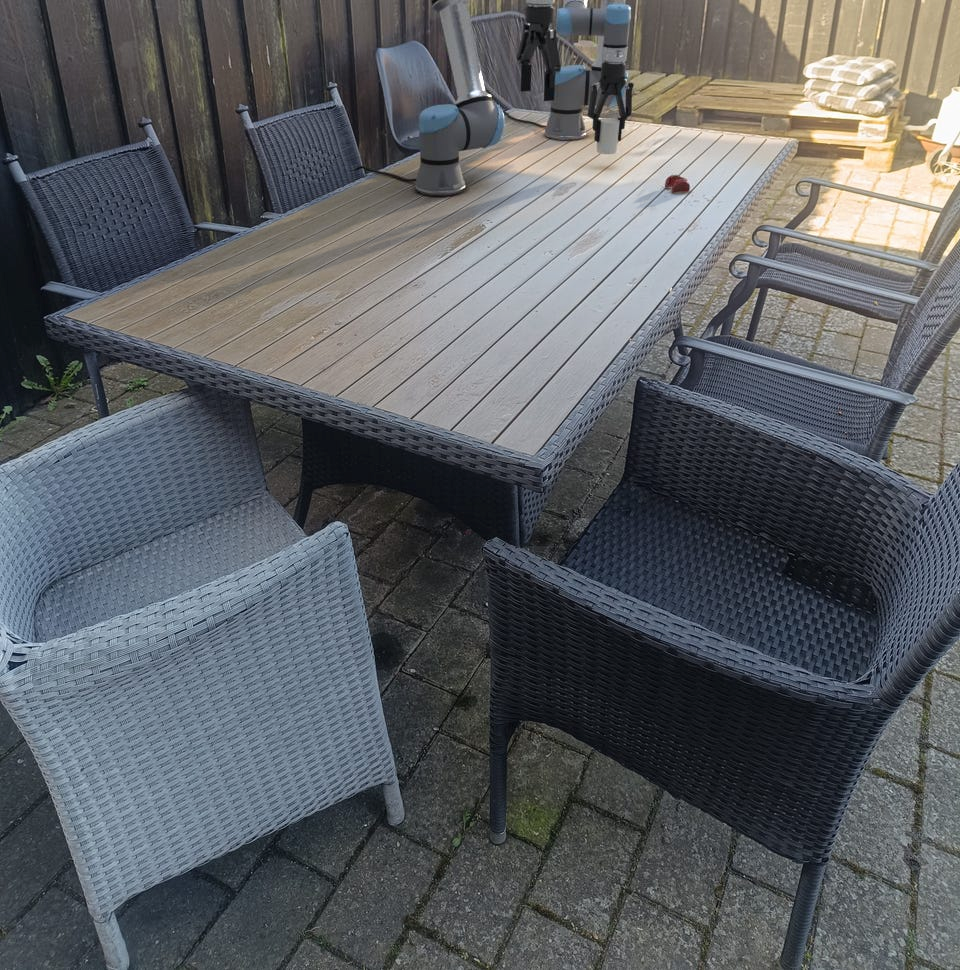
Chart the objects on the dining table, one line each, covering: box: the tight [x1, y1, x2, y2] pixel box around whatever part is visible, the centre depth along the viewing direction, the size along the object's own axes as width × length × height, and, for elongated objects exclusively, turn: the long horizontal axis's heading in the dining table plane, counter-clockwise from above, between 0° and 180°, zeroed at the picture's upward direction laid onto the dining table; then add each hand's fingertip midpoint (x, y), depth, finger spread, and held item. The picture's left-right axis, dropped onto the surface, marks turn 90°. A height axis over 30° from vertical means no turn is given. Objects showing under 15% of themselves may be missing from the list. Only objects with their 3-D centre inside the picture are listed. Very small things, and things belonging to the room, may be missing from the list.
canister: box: [596, 117, 620, 155], centre depth 272 cm, size 7×7×10 cm
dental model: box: [664, 174, 691, 193], centre depth 257 cm, size 6×4×8 cm
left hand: (537, 95), depth 226 cm, fingers open, 13 cm apart
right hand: (607, 140), depth 273 cm, fingers closed on canister, 7 cm apart
